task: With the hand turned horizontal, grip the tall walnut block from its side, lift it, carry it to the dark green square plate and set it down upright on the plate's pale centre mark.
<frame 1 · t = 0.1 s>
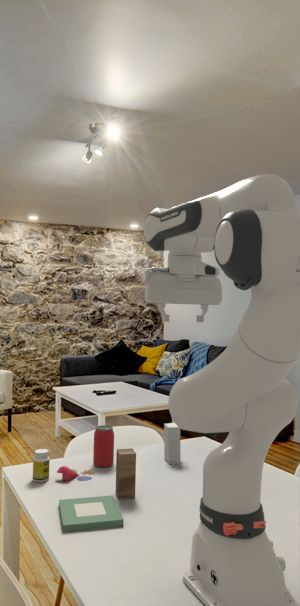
hand: (183, 322, 119), 48 cm above the table, tool pointing down, fingers open, 8 cm apart
walnut block: (125, 495, 125), on the table
supplement bottle: (40, 480, 135), on the table
beer can: (103, 465, 149), on the table
plate: (89, 515, 113), on the table
skincare box: (171, 461, 154), on the table
toy pieces: (77, 477, 139), on the table
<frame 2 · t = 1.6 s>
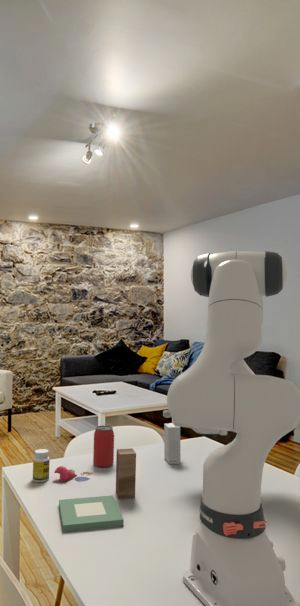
hand: (168, 418, 129), 20 cm above the table, tool horizontal, fingers open, 8 cm apart
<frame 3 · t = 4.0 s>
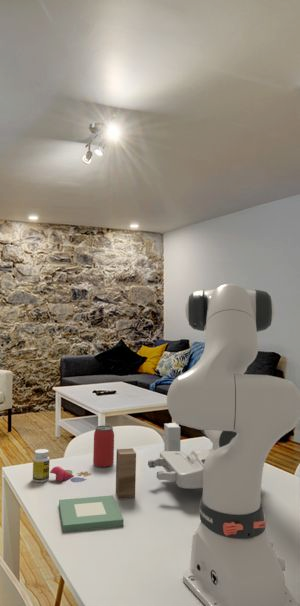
hand: (152, 469, 127), 6 cm above the table, tool horizontal, fingers open, 8 cm apart
toy pieces: (72, 478, 138), on the table
everything else where it was.
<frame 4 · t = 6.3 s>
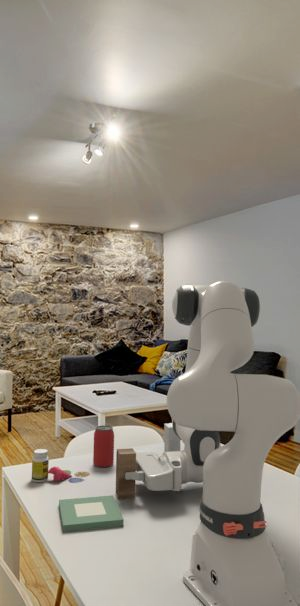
hand: (122, 471, 125), 7 cm above the table, tool horizontal, fingers closed on walnut block, 4 cm apart
walnut block: (125, 495, 125), on the table, touching gripper
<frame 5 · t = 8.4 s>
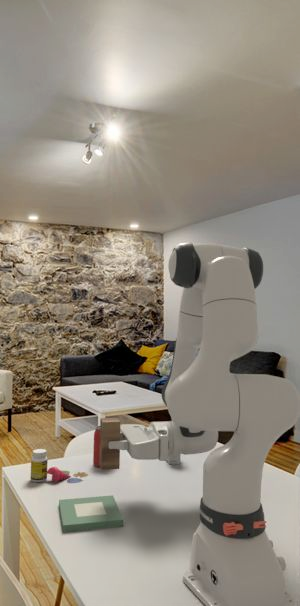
hand: (106, 441, 118), 17 cm above the table, tool horizontal, fingers closed on walnut block, 4 cm apart
walnut block: (109, 466, 119), point 10 cm above the table, touching gripper
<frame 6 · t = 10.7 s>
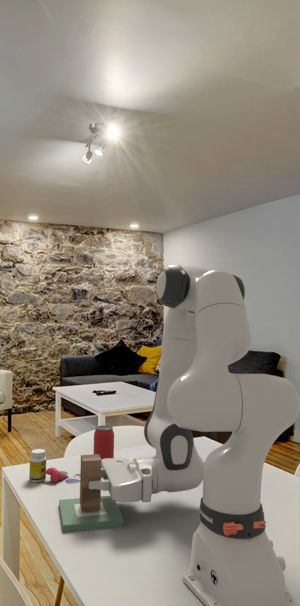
hand: (87, 480, 113), 9 cm above the table, tool horizontal, fingers closed on walnut block, 4 cm apart
walnut block: (89, 506, 113), point 2 cm above the table, touching gripper
when the fingers open (9 cm above the table, at t = 10.8 s): walnut block stays where it is, resting on plate.
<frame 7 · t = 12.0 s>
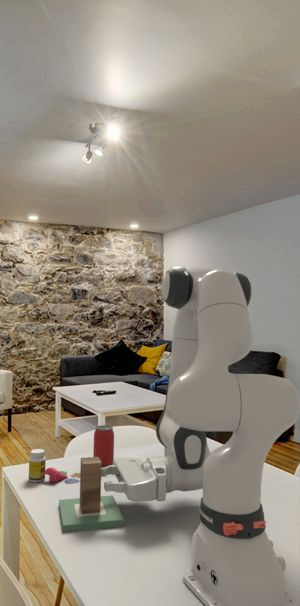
hand: (101, 479, 113), 9 cm above the table, tool horizontal, fingers open, 8 cm apart
walnut block: (89, 509, 113), point 2 cm above the table, touching plate
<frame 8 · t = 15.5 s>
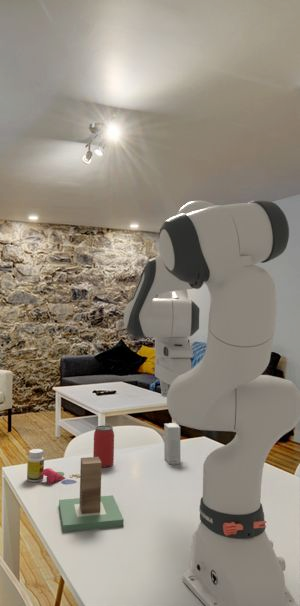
hand: (170, 400, 121), 27 cm above the table, tool pointing down, fingers open, 8 cm apart
at the end: walnut block inside the target area on the plate (0.0 cm from its centre), point 1.5 cm above the plate's base; walnut block tilted 0°; the gripper is holding nothing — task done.
